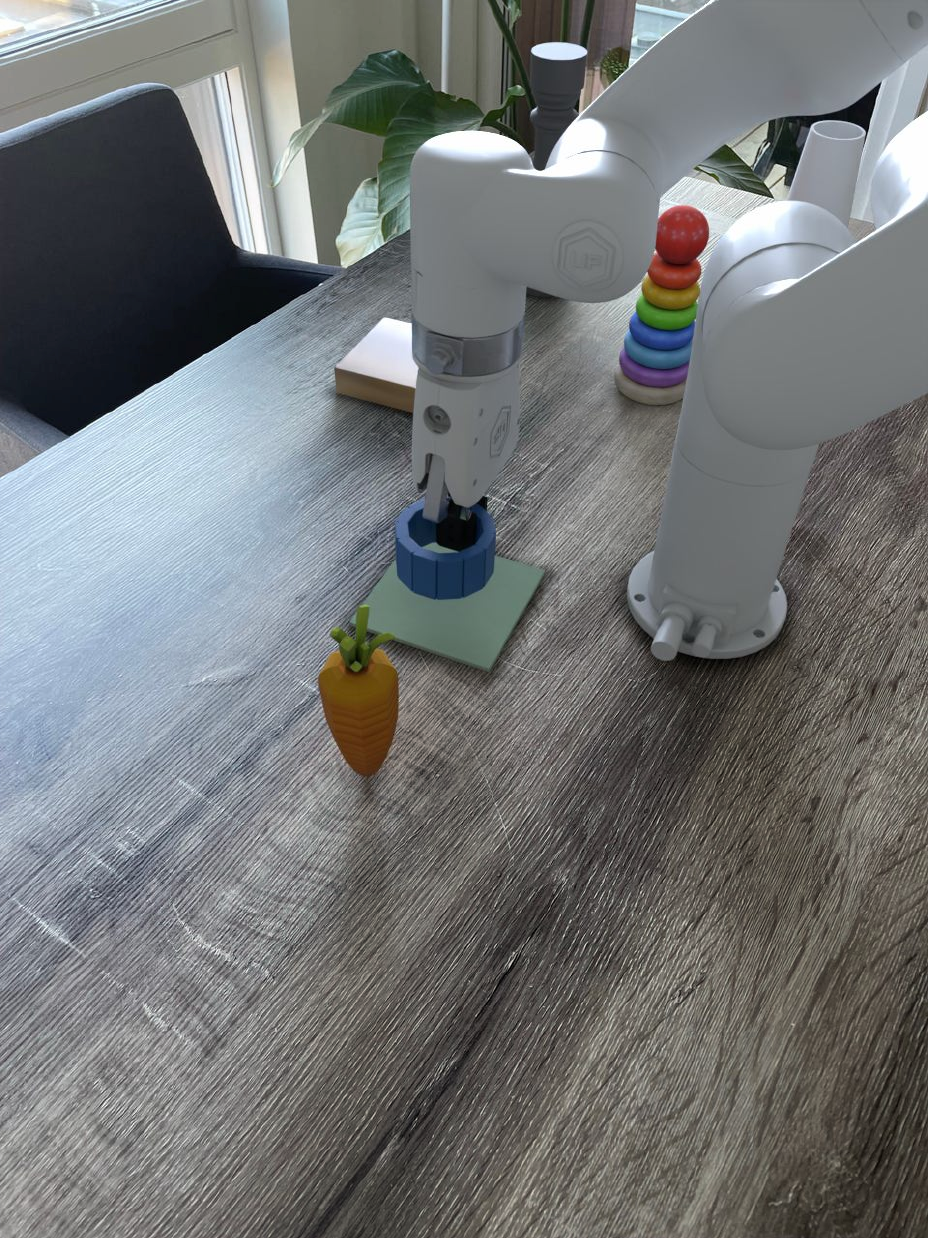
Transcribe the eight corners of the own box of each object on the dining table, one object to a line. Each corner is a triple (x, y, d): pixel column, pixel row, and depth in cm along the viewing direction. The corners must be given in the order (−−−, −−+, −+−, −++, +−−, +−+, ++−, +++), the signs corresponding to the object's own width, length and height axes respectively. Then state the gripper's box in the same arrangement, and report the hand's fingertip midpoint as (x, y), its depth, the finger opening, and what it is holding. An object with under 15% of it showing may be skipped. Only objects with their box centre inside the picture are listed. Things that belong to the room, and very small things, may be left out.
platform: (443, 421, 98) (442, 395, 96) (336, 393, 102) (333, 367, 100) (486, 366, 106) (487, 341, 103) (385, 341, 109) (384, 316, 107)
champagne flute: (781, 392, 102) (847, 150, 85) (730, 365, 106) (783, 127, 89) (821, 370, 105) (892, 131, 88) (770, 344, 109) (829, 110, 92)
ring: (469, 611, 75) (471, 573, 72) (379, 582, 77) (377, 543, 74) (507, 550, 80) (510, 512, 77) (421, 524, 82) (421, 485, 79)
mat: (489, 672, 75) (489, 669, 75) (349, 625, 79) (348, 622, 78) (545, 573, 83) (545, 570, 83) (415, 534, 86) (415, 531, 86)
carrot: (366, 733, 71) (351, 581, 61) (418, 770, 69) (412, 618, 58) (316, 777, 69) (291, 626, 58) (369, 817, 66) (353, 667, 56)
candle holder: (508, 277, 119) (517, 45, 101) (553, 267, 121) (570, 38, 103) (532, 301, 115) (546, 64, 98) (579, 290, 117) (601, 55, 99)
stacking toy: (608, 402, 101) (631, 220, 88) (618, 361, 106) (642, 183, 93) (686, 413, 100) (723, 230, 86) (693, 371, 105) (728, 192, 92)
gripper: (471, 407, 61) (464, 617, 75) (559, 296, 71) (538, 497, 85) (363, 378, 63) (374, 587, 77) (463, 273, 73) (458, 474, 87)
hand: (461, 539), depth 80 cm, fingers closed on ring, 1 cm apart
